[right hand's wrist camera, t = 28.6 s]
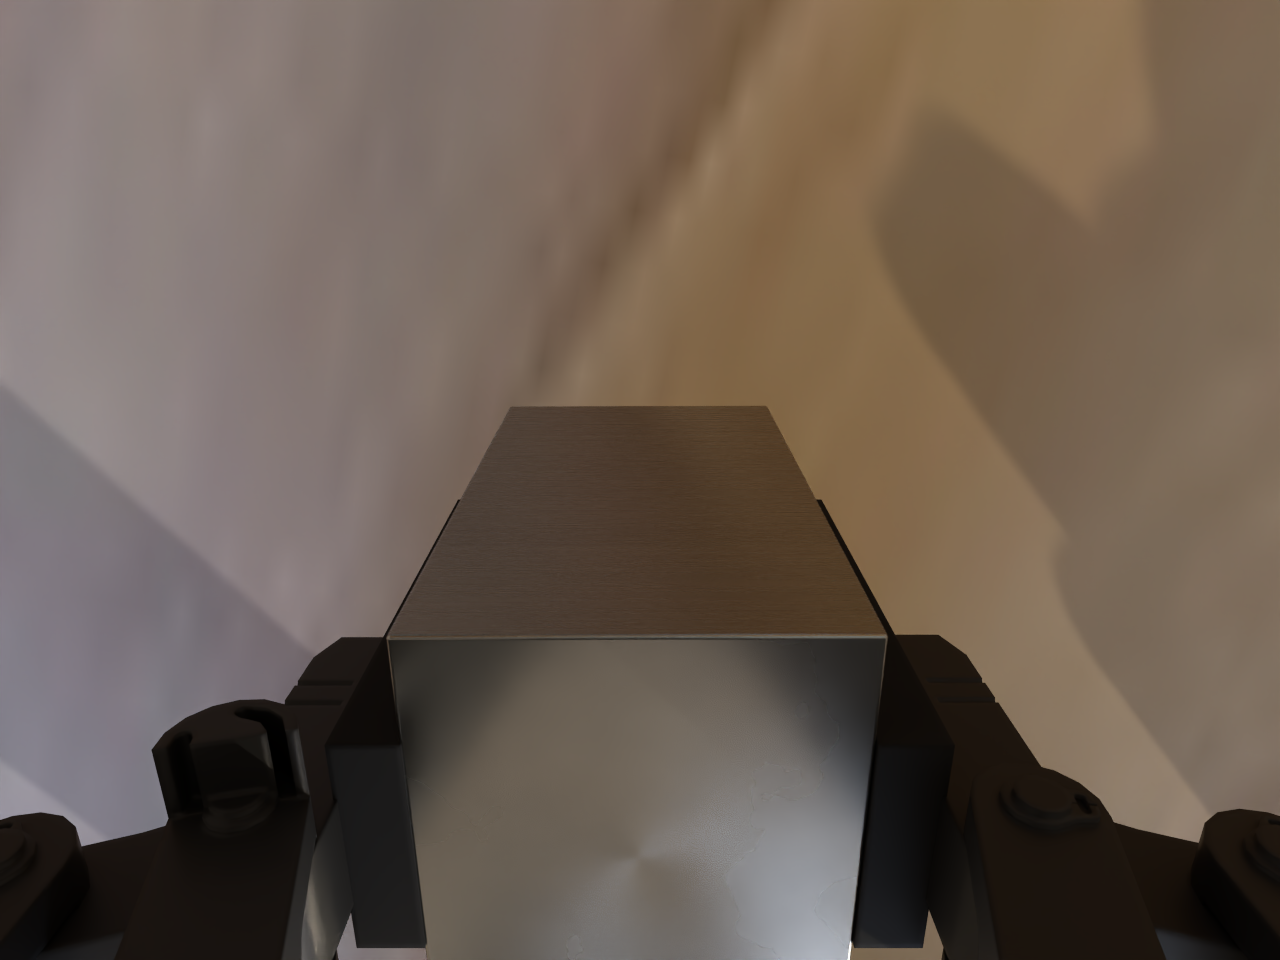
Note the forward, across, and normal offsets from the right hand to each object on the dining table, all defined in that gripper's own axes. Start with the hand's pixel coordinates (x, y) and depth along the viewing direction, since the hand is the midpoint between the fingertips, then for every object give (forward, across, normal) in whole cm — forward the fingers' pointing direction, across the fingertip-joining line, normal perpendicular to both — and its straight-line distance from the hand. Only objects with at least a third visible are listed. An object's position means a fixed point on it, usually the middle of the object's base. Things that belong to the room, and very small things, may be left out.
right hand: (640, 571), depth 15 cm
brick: (+2, 0, 0) cm, 2 cm away
